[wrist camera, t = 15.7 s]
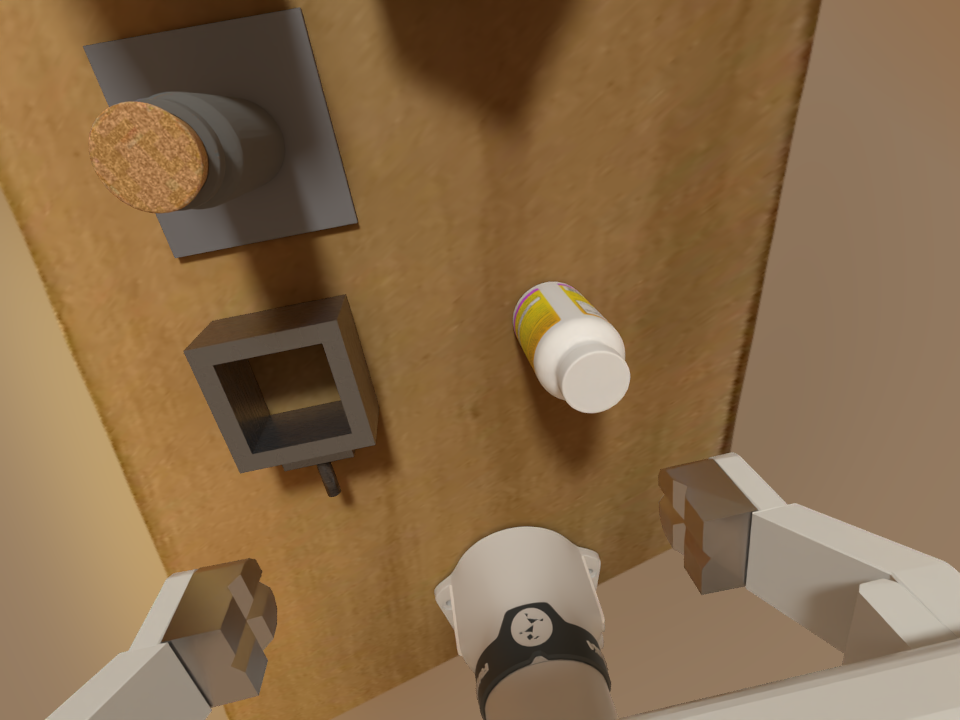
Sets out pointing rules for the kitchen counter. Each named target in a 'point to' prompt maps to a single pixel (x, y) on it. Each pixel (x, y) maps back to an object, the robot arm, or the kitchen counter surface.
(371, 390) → the frame
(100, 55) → the pad
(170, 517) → the kitchen counter surface
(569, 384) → the supplement bottle
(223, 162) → the bottle
